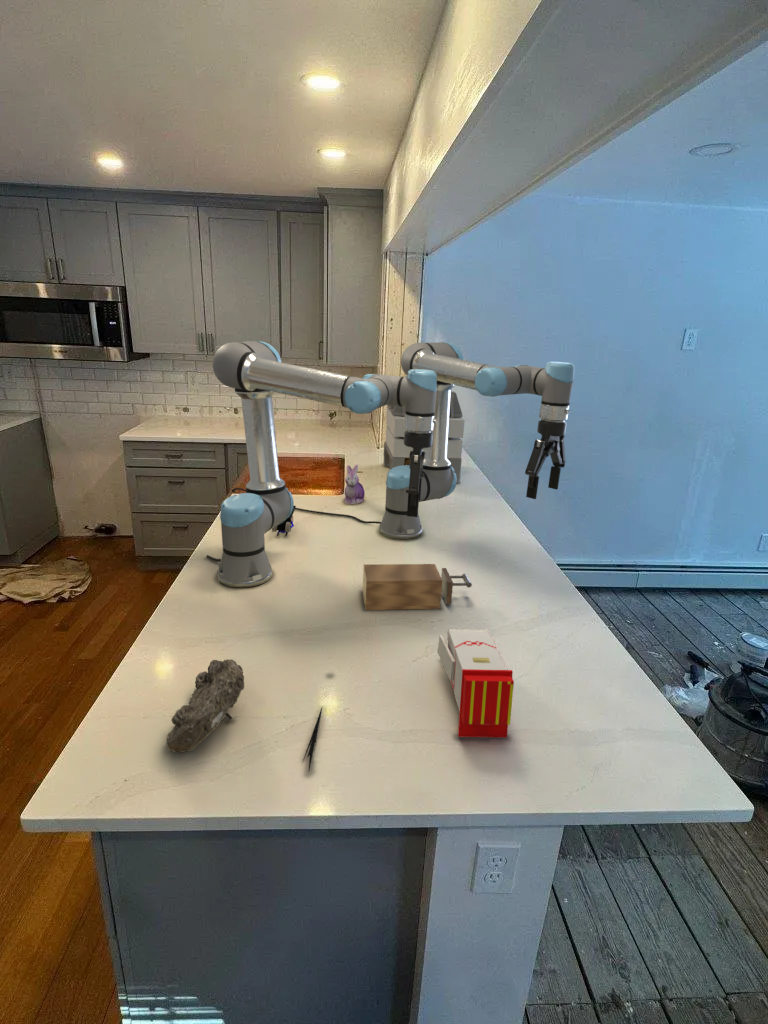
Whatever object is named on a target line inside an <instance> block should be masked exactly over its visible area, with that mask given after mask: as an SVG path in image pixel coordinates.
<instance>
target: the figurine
mask: <svg viewBox="0 0 768 1024" xmlns="http://www.w3.org/2000/svg"><path fill="white" fill-rule="evenodd" d="M358 471H359V464H355V465H354V466H353V468H352V467H351V466H350V465H349V464H347V466H346V472H347V474H346V476H345V479H344V481H345V484H346V486H345V487H344V498H343V500H344V504H348V505H355V504H360V503H363V502H364V500H365V494H366V493H365V489H364V486H363V484H362V483H360V478H359V475H358Z"/></svg>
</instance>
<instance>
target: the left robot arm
mask: <svg viewBox="0 0 768 1024" xmlns="http://www.w3.org/2000/svg"><path fill="white" fill-rule="evenodd" d="M212 370H213V371H212V372H213V373H214V375H215V377H216V379H217V380H218V381H219V382H220V383H221V384H222V385H224V386H226V387H227V388H231V389H234V393H235V394H236V395H237V396H239V397H240V399H241V409H242V419H243V428H244V436H245V444H246V445H245V447H246V454H247V463H248V471H249V481H248V482H247V483H246V484H245V490H246V492H243V493H239V494H233V495H230V496H229V497H227V498H225V499H224V500H223V502H222V503H221V505H220V514H219V519H220V528H221V529H220V530H221V543H222V554H221V557H220V558H216V557H213V556H211V555H208V554H207V555H206V559H208V560H210V561H213V562H217V563H219V564H218V568H217V573H216V574H217V580H218V581H219V582H220V583H221V584H222V585H224V586H227V587H231V588H243V589H244V588H251V587H257V586H260V585H262V584H263V585H264V584H265V583H267V582H268V581H269V580H270V579H271V578H272V577H273V576H272V575H273V569H272V565H271V562H270V559H269V557H268V555H267V553H266V550H265V549H266V544H265V542H266V541H265V534H266V533H268V532H269V531H272V528H274V527H275V526H277V525H279V524H281V523H283V522H284V521H285V520H286V519H287V518H288V517H289V516H290V514H291V513H292V510H293V506H295V505H294V497H293V494H292V492H291V491H289V488H288V487H286V481H285V480H284V479H282V478H281V476H280V467H279V458H278V447H277V436H276V435H277V434H276V426H275V415H274V413H275V412H274V404H273V403H274V402H273V396H274V394H275V393H277V394H281V395H286V396H290V397H294V398H300V399H305V400H310V401H314V402H319V403H324V404H328V405H333V406H338V407H342V408H347V409H348V410H350V412H352V413H354V414H357V415H365V414H366V415H367V414H370V413H372V412H374V411H376V410H378V409H381V408H382V407H385V406H387V405H394V406H405V407H406V413H405V429H406V431H405V432H404V445H405V446H407V447H412V448H413V451H410V456H409V459H410V465H409V467H410V480H409V489H408V490H406V493H408V508H407V516H409V517H417V515H418V514H419V508H418V501H420V496H421V482H422V478H420V477H424V473H422V471H423V470H422V469H423V463H424V458H425V452H423V448H429V447H431V446H432V444H433V433H432V432H431V431H432V430H433V427H434V424H433V423H436V419H433V418H434V414H435V402H436V392H437V374H436V373H435V372H434V371H432V370H425V369H411V370H409V371H408V375H406V376H398V375H389V374H381V373H367V374H365V375H364V376H362V378H361V377H357V376H350V375H346V374H341V373H336V372H332V371H327V370H321V369H316V368H311V367H306V366H301V365H296V364H291V363H287V362H283V361H282V359H281V355H280V354H279V352H278V351H277V349H276V348H274V346H272V345H271V344H269V343H268V342H265V341H261V340H248V341H237V342H235V341H233V342H227V343H225V344H223V345H222V346H220V347H219V348H218V349H217V350H216V352H215V353H214V355H213V358H212Z"/></svg>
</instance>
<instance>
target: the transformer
mask: <svg viewBox="0 0 768 1024" xmlns="http://www.w3.org/2000/svg"><path fill="white" fill-rule="evenodd" d="M405 413H406V407H405V406H394V405H386V413H385V414H386V415H385V423H386V428H385V438H384V442H383V466H384V467H388V468H389V471H390V470H391V469H392V468H394V467H397V466H402V465H405V466H407V465H410V459H409V456H410V451H413V448H412V447H407V446H405V445H404V432H405V431H406V429H405ZM464 429H465V419H464V418H463V411H462V408H461V405H460V402H459V398H458V395H457V392H455V391H453V390H451V398H450V414H449V430H448V446H447V459H448V460H449V461H450V462H451V467H452V468H453V469H454V470H455V472H454V473H455V474H456V477H457V482H456V484H459V483H461V472H462V461H463V460H462V453H463V442H464V441H463V440H462V439H463V438H464V431H465V430H464Z"/></svg>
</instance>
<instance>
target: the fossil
mask: <svg viewBox="0 0 768 1024" xmlns="http://www.w3.org/2000/svg"><path fill="white" fill-rule="evenodd" d="M243 670H244V669H243V667H242V665H240V664H237V662H236V661H235V660H234V659H232V658H231V659H227V658H226V659H224V660H223V661H222V660H217V659H212V660H211V661H210V663H209V665H208V666H207V671H201V672H199V673H198V674H197V675H196V676H195V680H194V684H195V685H194V687H195V689H194V690H193V693H192V694H191V697H190V698H189V700H188V704H184V705H182V706H181V707H180V709H177V710H176V711H175V713H174V715H173V716H172V718H171V723H172V724H173V727H172V730H171V731H170V732H168V734H167V738H166V741H167V742H166V745H167V749H168V750H169V751H173V752H174V753H176V754H178V753H182V752H188V751H189V752H192V751H193V750H195V748H196V747H197V746H199V744H200V743H201V742H203V741H204V740H205V739H206V738H207V737H208V736H209V735H210V734H211V733H212V732H214V730H215V729H217V727H218V726H219V724H220V722H221V721H222V720H223V719H224V718H225V716H226V717H227V719H229V720H233V717H232V715H230V714H229V710H230V709H231V708H234V706H235V704H236V703H237V702H238V699H239V697H240V695H241V693H242V691H243V690H245V689H244V688H245V675H244V671H243Z"/></svg>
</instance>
